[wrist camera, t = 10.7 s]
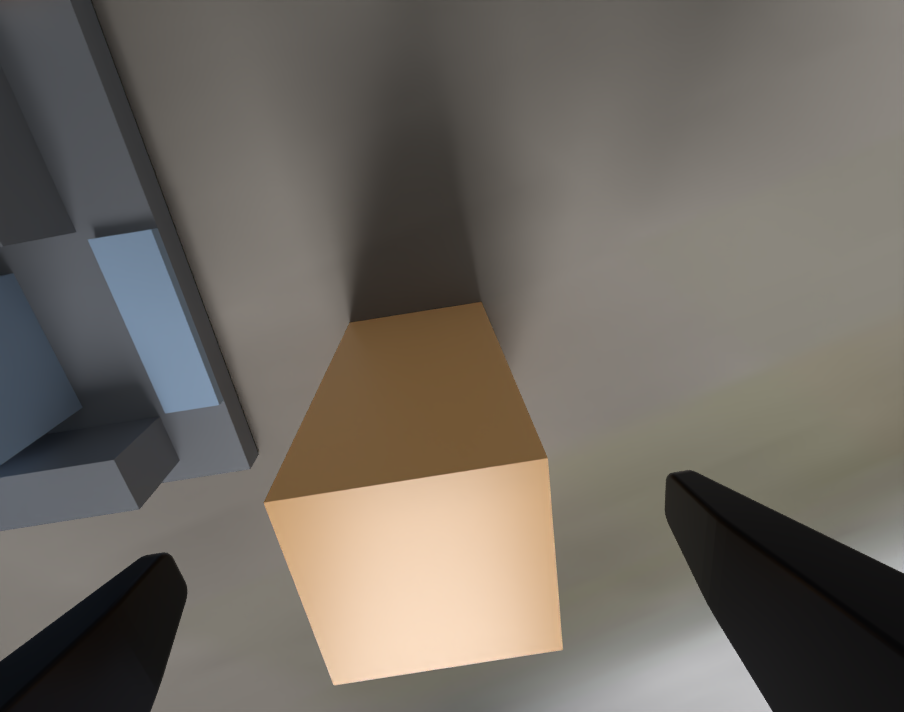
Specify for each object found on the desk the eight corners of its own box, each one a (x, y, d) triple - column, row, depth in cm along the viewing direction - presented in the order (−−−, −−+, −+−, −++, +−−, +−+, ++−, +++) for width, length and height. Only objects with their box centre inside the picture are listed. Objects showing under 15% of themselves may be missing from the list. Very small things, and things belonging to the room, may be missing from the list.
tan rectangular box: (495, 416, 15) (562, 650, 8) (377, 435, 15) (333, 685, 8) (481, 301, 14) (547, 457, 6) (349, 322, 14) (264, 503, 6)
